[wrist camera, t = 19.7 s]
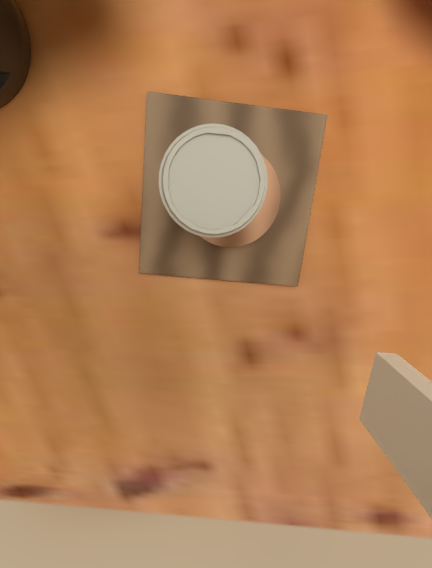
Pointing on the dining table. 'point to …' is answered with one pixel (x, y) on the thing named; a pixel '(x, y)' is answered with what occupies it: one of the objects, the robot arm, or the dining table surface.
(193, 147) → the disposable coffee cup
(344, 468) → the dining table surface
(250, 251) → the pedestal
